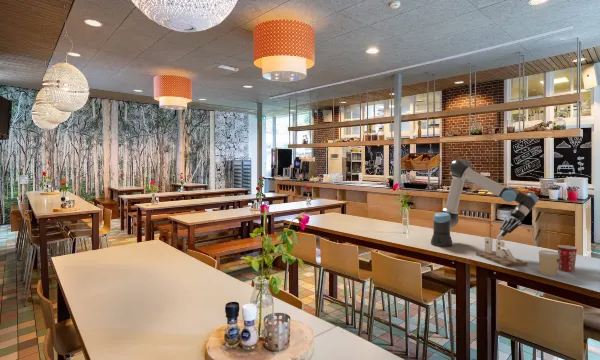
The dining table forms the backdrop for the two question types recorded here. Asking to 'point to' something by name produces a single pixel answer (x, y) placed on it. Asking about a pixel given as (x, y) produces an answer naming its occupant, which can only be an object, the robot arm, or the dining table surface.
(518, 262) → the tap board
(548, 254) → the coffee cup
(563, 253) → the mug
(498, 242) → the tile
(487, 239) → the tile
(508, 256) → the tile
